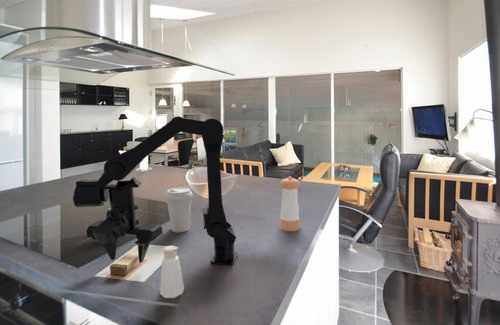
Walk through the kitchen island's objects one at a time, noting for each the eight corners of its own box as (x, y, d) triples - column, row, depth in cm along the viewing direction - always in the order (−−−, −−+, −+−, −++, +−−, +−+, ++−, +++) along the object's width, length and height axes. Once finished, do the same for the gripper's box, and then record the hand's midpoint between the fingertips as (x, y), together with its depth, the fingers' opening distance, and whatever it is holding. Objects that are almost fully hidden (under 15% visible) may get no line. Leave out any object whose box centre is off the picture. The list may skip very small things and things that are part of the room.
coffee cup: (165, 227, 102) (163, 188, 100) (190, 223, 106) (189, 185, 104) (169, 237, 94) (166, 194, 92) (196, 232, 98) (195, 191, 96)
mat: (138, 244, 88) (138, 243, 88) (178, 248, 85) (178, 246, 85) (94, 277, 70) (94, 275, 70) (144, 283, 67) (143, 281, 67)
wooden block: (124, 276, 69) (123, 267, 69) (110, 275, 70) (109, 266, 69) (143, 261, 77) (142, 252, 76) (130, 260, 78) (129, 251, 77)
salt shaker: (278, 230, 99) (278, 178, 96) (281, 223, 106) (281, 174, 103) (298, 232, 97) (299, 179, 94) (300, 224, 104) (301, 175, 101)
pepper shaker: (175, 302, 60) (172, 255, 58) (155, 296, 62) (151, 251, 60) (189, 288, 65) (187, 244, 63) (170, 283, 67) (167, 241, 65)
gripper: (65, 212, 65) (72, 273, 67) (136, 216, 61) (141, 281, 63) (99, 199, 76) (104, 252, 78) (161, 202, 72) (165, 258, 74)
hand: (127, 260), depth 73 cm, fingers open, 8 cm apart
